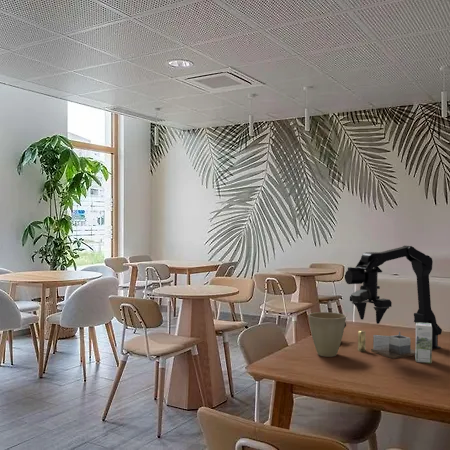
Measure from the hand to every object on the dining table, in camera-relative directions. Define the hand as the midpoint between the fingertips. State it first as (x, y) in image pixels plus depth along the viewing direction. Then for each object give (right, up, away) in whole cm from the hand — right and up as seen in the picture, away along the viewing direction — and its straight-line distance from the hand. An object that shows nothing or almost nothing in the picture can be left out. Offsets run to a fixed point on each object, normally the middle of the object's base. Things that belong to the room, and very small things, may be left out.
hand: (369, 321), depth 208 cm
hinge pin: (-2, -13, +4) cm, 13 cm away
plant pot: (-18, -13, -3) cm, 23 cm away
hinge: (+11, -13, 0) cm, 17 cm away
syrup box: (+17, -13, -12) cm, 25 cm away
